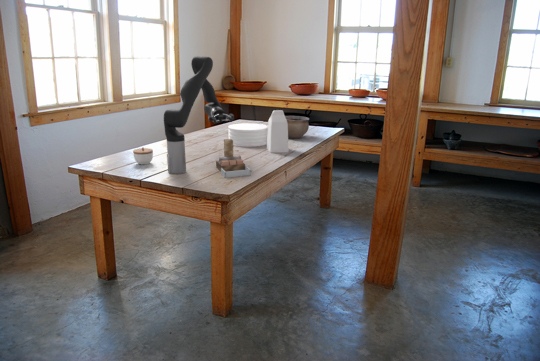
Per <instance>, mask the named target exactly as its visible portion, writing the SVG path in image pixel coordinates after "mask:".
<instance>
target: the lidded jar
mask: <svg viewBox="0 0 540 361" xmlns="http://www.w3.org/2000/svg"><path fill="white" fill-rule="evenodd" d="M132 152H133V158H134V160H135V162H136V163H137V164H138V165H139V164H147V165H149V164H150V163H151V162H152V161H153V156H154V153H153V152H154V150H153V149H152V148H146V147H143V146H141V148H137V149H134V150H132ZM148 163H149V164H148Z"/></svg>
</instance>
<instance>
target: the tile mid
mask: <svg viewBox="0 0 540 361" xmlns="http://www.w3.org/2000/svg"><path fill="white" fill-rule="evenodd" d="M228 161H229V165H236V160H228Z"/></svg>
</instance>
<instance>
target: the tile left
mask: <svg viewBox="0 0 540 361" xmlns="http://www.w3.org/2000/svg"><path fill="white" fill-rule="evenodd" d="M221 165H222V166H226V165H229V161H228V160H222V161H221Z"/></svg>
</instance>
